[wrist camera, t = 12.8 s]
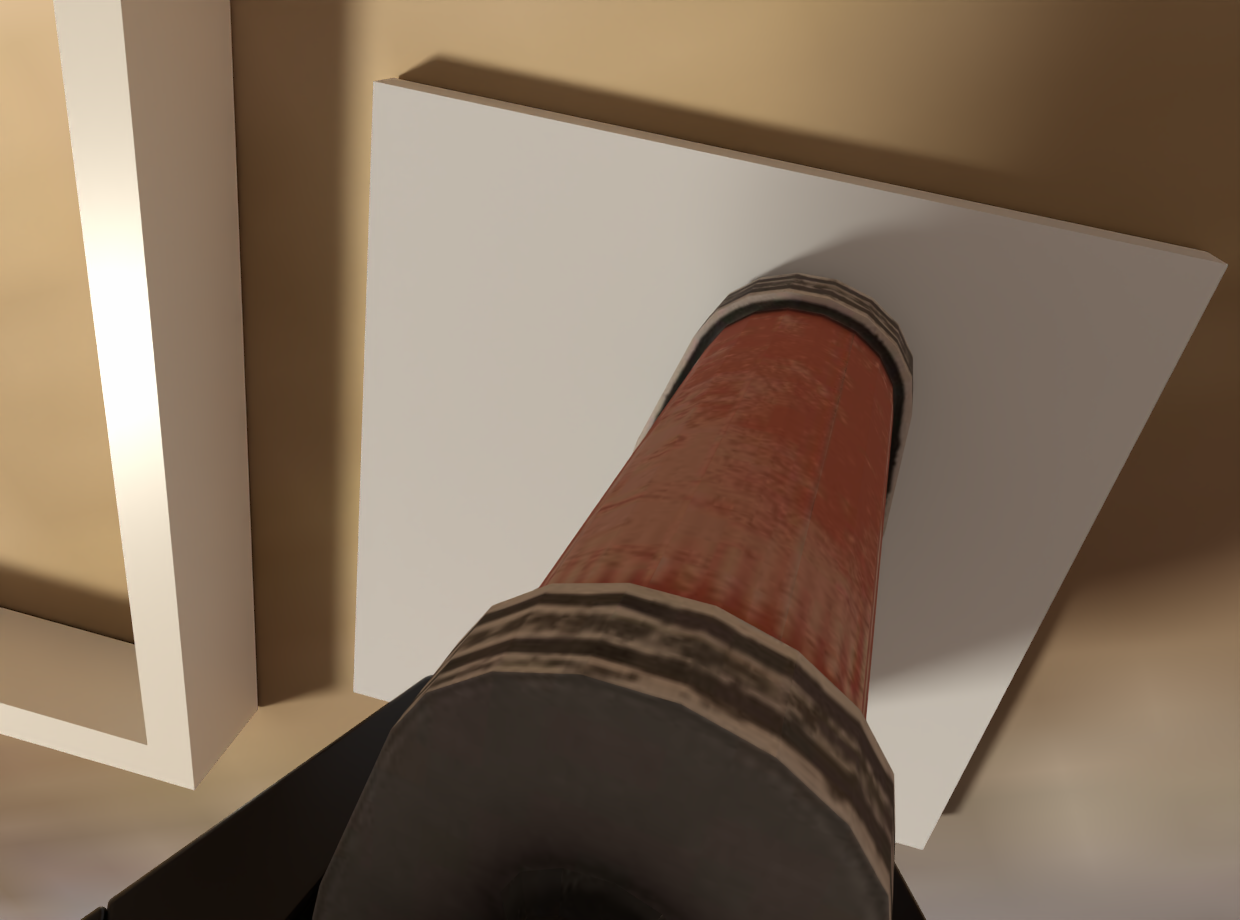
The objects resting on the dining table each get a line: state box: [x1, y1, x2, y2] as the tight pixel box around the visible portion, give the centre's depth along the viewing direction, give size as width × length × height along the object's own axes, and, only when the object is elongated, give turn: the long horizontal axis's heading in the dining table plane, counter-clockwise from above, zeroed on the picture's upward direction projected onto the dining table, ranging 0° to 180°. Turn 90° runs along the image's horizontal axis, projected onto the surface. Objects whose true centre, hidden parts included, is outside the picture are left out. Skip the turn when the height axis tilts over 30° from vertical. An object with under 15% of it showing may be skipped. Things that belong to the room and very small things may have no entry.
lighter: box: [312, 273, 913, 920], centre depth 8 cm, size 8×3×10 cm, turn 166°
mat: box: [353, 78, 1228, 850], centre depth 13 cm, size 10×10×1 cm
